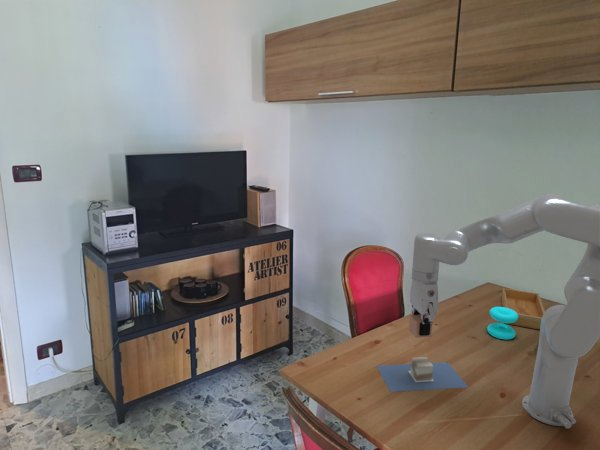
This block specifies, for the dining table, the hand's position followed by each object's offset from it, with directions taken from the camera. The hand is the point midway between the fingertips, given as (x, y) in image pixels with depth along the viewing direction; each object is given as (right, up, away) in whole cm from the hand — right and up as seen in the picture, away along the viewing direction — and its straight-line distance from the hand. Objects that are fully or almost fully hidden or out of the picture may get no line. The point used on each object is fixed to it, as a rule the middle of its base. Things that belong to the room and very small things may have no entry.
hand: (420, 330), depth 129 cm
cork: (+51, -14, +22) cm, 57 cm away
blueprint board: (+1, -16, +4) cm, 17 cm away
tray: (+60, -7, +54) cm, 81 cm away
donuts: (+41, -11, +34) cm, 55 cm away
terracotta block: (0, -1, 0) cm, 1 cm away
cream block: (+1, -16, +4) cm, 16 cm away
